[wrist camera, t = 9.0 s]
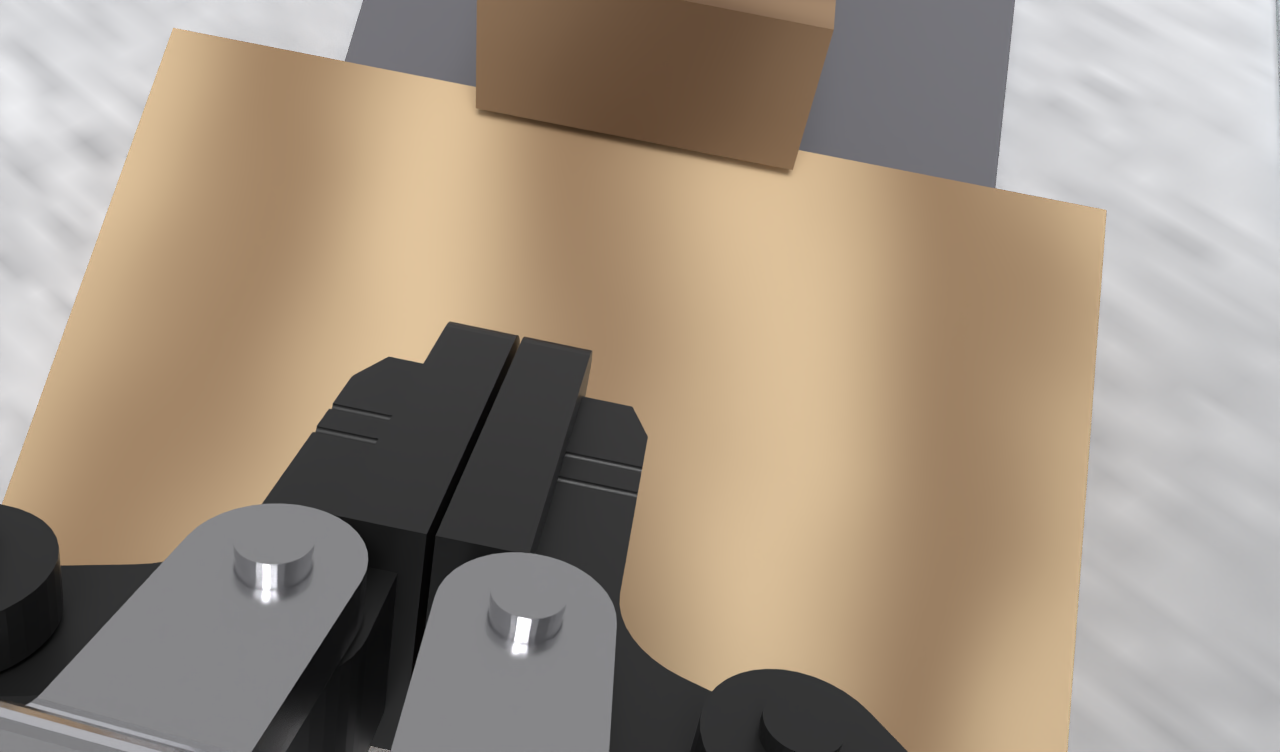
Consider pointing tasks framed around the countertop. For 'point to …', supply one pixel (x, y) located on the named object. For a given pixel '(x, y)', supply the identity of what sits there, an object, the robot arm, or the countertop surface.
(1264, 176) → the countertop surface
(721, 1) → the brown wood brick
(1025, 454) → the wooden block
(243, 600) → the robot arm
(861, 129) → the mat
